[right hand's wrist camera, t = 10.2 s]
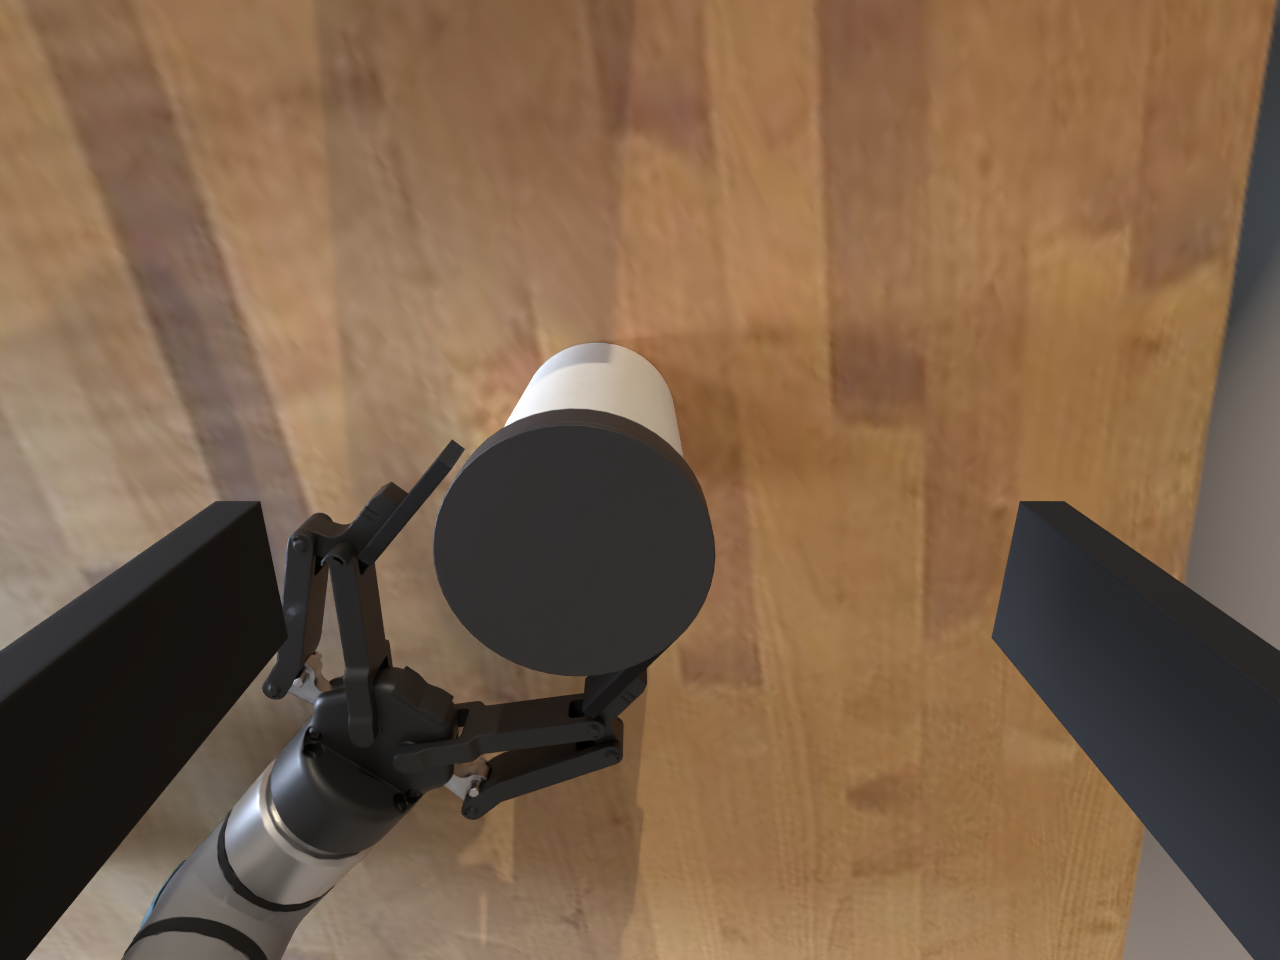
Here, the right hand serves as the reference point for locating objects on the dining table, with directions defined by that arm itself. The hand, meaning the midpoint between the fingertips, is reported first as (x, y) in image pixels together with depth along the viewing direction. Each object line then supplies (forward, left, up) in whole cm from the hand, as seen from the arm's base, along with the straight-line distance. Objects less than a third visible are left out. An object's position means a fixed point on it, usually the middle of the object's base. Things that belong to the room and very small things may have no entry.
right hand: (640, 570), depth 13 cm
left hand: (-2, -10, -20) cm, 22 cm away
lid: (-1, -5, -10) cm, 12 cm away
